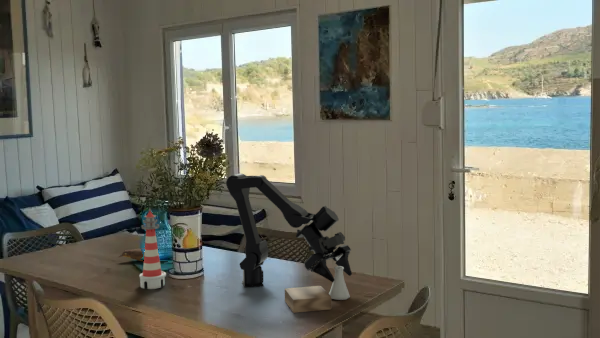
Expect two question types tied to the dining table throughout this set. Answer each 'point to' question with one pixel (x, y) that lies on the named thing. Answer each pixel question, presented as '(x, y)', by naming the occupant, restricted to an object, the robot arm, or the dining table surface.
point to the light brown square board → (307, 299)
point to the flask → (339, 285)
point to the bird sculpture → (133, 254)
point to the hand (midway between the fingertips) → (342, 278)
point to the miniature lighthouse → (151, 257)
